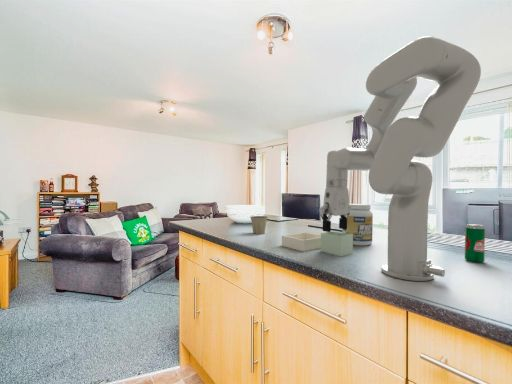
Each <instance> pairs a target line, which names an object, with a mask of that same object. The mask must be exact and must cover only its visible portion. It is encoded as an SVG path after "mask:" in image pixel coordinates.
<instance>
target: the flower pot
mask: <svg viewBox="0 0 512 384" xmlns="http://www.w3.org/2000/svg"><path fill="white" fill-rule="evenodd" d="M249 218H250V221H251V227H252V234H254V235H255V234H256V235H263V234H266V229H267V222H268V218H269V217H268V216H265V215H264V216H263V215H254V216H253V215H252V216H249Z"/></svg>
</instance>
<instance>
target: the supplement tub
mask: <svg viewBox="0 0 512 384" xmlns="http://www.w3.org/2000/svg"><path fill="white" fill-rule="evenodd" d="M349 206H350V207H351V209H350V214H349V215H348V219H347V229H341V230H342V232H341V233H346V234H352V235H353V246H358V247H359V246H370V245H371V244H372V242H373V224H374V223H373V222H374V221H373V217H374V216H373V211H371V204H369V203H368V204H367V203H349Z"/></svg>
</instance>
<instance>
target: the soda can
mask: <svg viewBox="0 0 512 384" xmlns="http://www.w3.org/2000/svg"><path fill="white" fill-rule="evenodd" d="M485 253H486V228H485V227H484V225H483V224H476V223H466V226H465V228H464V259H465V261H467V262H470V263H476V264H483V263H484V262H485V261H486V260H485V259H486V258H485V255H486V254H485Z"/></svg>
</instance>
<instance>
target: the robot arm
mask: <svg viewBox="0 0 512 384" xmlns="http://www.w3.org/2000/svg"><path fill="white" fill-rule="evenodd" d="M481 73H482V68H481V64H480V62H479V60H478V59H477V58H476V56H475V55H474V54H472V53H471V52H470V51H468V50H466V49H465V48H462V47H461V46H458V45H456V44H454V43H451V42H448V41H446V40H444V39H441V38H438V37H435V36H429V35H427V36H421V37H419V38H416V39H415V40H413V41H410V42H409V43H407V44H406V45H405V46H403V47H401V48H400V49H398V50H397V51H395V52H394V53H392V54H390V55H389V56H388V57H386V58H385V59H383V60H381V62H379V63H378V64H377V65H376V66H375V67H374V68H373V69H371V71H370V73H369V74H368V76H367V78H366V81H365V88H366V89H365V90H366V91H367V93H368V94H369V95H371V96H374V97H373V100H372V101H371V103H370V105H369V106H368V108H367V109H366V111H365V113H364V115H363V120H364V122H365V123H366V124H367V125H368V126H369V127H370V128H371V132H372V133H371V139H370V140H369V142H368V144H367V145H366V147H365V148H358V147H345V148H341V149H338V150H330V151H328V152H327V155H326V176H325V177H326V179H325V181H326V182H325V183H326V185H325V190H324V196H323V205H322V206H320V207H319V209H318V211H319V214H320V217H321V220H322V231H323V232H331V230H332V228H331V227H332V221H331V219H332V217H333V216H335V217H338V216H339V221H338V228H339V229H340V230H343V229H347V219H348V215H349V214H350V209H351V207H350V206H349V204H350V193H349V188H348V178H349V171H362V172H363V171H364V172H365V171H368V183H369V186H370V187H371V189H372V190H373V191H375V192H376V193H378V194H380V195H392V196H391V199H390V202H389V204H388V212H387V213H388V214H387V215H388V217H387V220H388V221H387V263H386V264H382V265H381V272H382V273H384V274H385V275H387V276H389V277H392V278H395V279H400V280H405V281H413V282H427V281H428V282H429V281H431V280H433V279H434V278H435V276H439V277H442V278H444V277H445V275H446V270H445V269H444V267H442V266H437V265H433V264H432V259H430V258H429V259H428V226H429V223H428V219H429V202H430V195H431V190H432V186H433V174H432V170H431V169H430V167H429V166H428V165H426V164H425V163H424V162H422V161H419V160H415V159H414V158H432V157H435V156H437V155H439V154H440V153H441V152H442V151H443V149H444V148H445V146H446V144H447V142H448V141H449V138H450V136H451V134H452V133H453V131H454V129H455V127H456V125H457V124H458V121H459V119H460V117H461V115H462V113H463V112H464V109H465V107H466V106H467V104H468V102H469V100H470V99H471V97H472V95H473V94H474V93H475V91H476V88H477V87H478V84H479V81H480V79H481V75H482V74H481ZM418 78H420V79H423V80H426V81H431V82H433V83H436V84H437V87H436V88H434V89H433V90H432V91H431V92H430V93H429V95H428V96H427V97H426V99H425V100H424V102H423V105H422V106H421V108H420V111H419V113H418V115H417V116H403V117H401V118H398V119H397V120H396V118H397V116H399V114H400V113H401V111H402V110H403V107H404V106H405V105H406V103H407V102H408V100H409V99H410V97H411V96H412V94H413V93H414V91H416V90H415V89H416V88H417V85H418Z"/></svg>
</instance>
